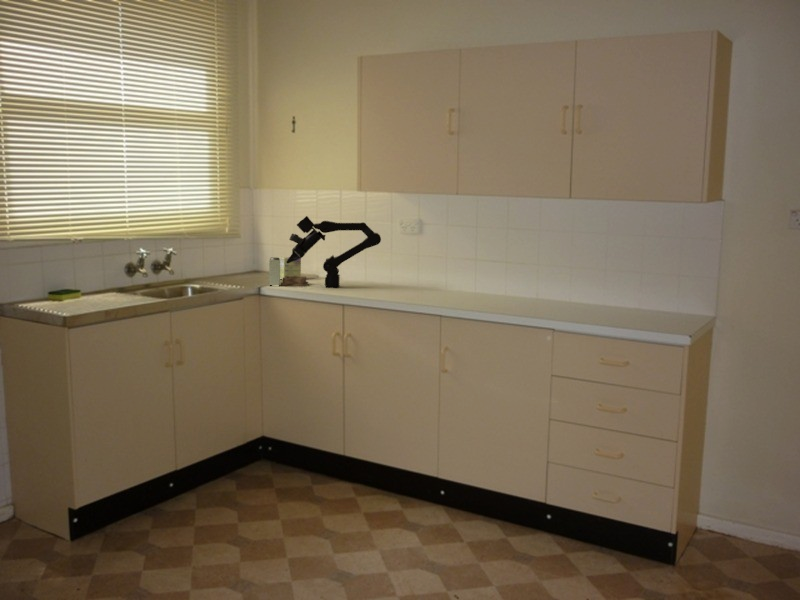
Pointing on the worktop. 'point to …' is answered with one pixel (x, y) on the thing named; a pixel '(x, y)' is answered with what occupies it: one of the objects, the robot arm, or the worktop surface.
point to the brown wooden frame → (294, 280)
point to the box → (289, 267)
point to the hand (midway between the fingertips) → (287, 261)
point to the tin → (274, 271)
